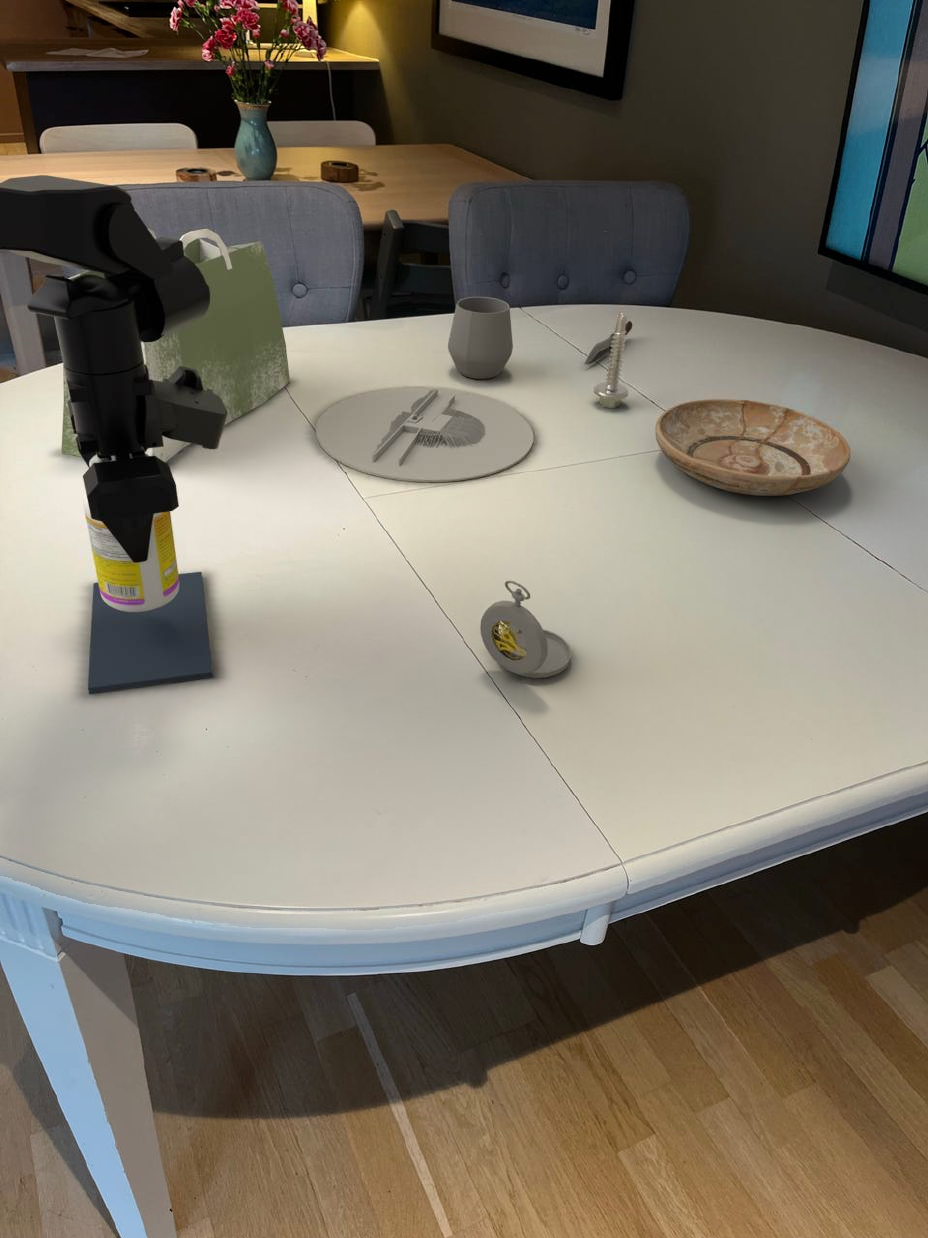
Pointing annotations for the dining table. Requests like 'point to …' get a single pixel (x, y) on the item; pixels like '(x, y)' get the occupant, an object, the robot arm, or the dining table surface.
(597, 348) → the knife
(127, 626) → the placemat
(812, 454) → the ceramic bowl
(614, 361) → the screw
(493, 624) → the pocket watch
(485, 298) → the cup
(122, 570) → the supplement bottle
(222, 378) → the grocery bag
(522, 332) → the dining table surface
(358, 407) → the plate
